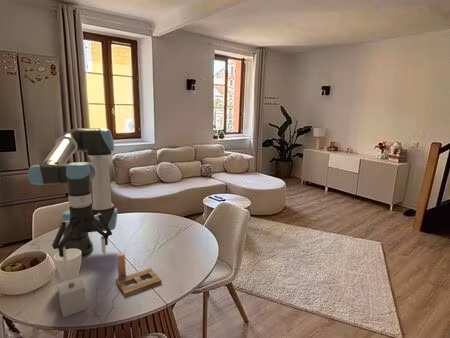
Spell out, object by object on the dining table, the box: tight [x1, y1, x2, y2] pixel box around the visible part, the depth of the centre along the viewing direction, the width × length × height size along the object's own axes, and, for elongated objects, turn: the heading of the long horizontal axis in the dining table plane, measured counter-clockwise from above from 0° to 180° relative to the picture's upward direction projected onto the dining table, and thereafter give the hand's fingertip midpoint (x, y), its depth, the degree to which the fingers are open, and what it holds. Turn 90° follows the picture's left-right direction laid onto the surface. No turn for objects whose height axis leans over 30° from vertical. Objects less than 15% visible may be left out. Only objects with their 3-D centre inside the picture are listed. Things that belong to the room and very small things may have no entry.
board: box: [115, 267, 162, 297], centre depth 127 cm, size 12×16×2 cm
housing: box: [57, 277, 88, 318], centre depth 110 cm, size 8×8×10 cm
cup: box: [53, 249, 83, 283], centre depth 125 cm, size 10×10×14 cm
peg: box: [116, 253, 127, 278], centre depth 132 cm, size 3×3×10 cm
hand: (85, 258), depth 110 cm, fingers open, 13 cm apart
